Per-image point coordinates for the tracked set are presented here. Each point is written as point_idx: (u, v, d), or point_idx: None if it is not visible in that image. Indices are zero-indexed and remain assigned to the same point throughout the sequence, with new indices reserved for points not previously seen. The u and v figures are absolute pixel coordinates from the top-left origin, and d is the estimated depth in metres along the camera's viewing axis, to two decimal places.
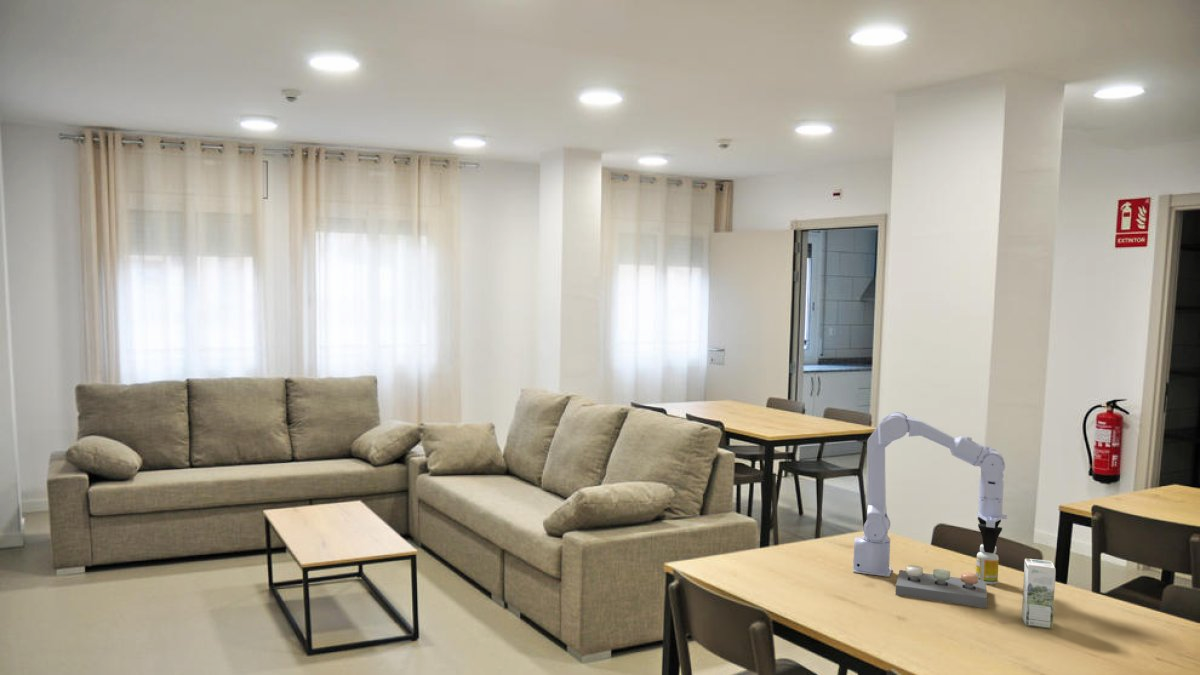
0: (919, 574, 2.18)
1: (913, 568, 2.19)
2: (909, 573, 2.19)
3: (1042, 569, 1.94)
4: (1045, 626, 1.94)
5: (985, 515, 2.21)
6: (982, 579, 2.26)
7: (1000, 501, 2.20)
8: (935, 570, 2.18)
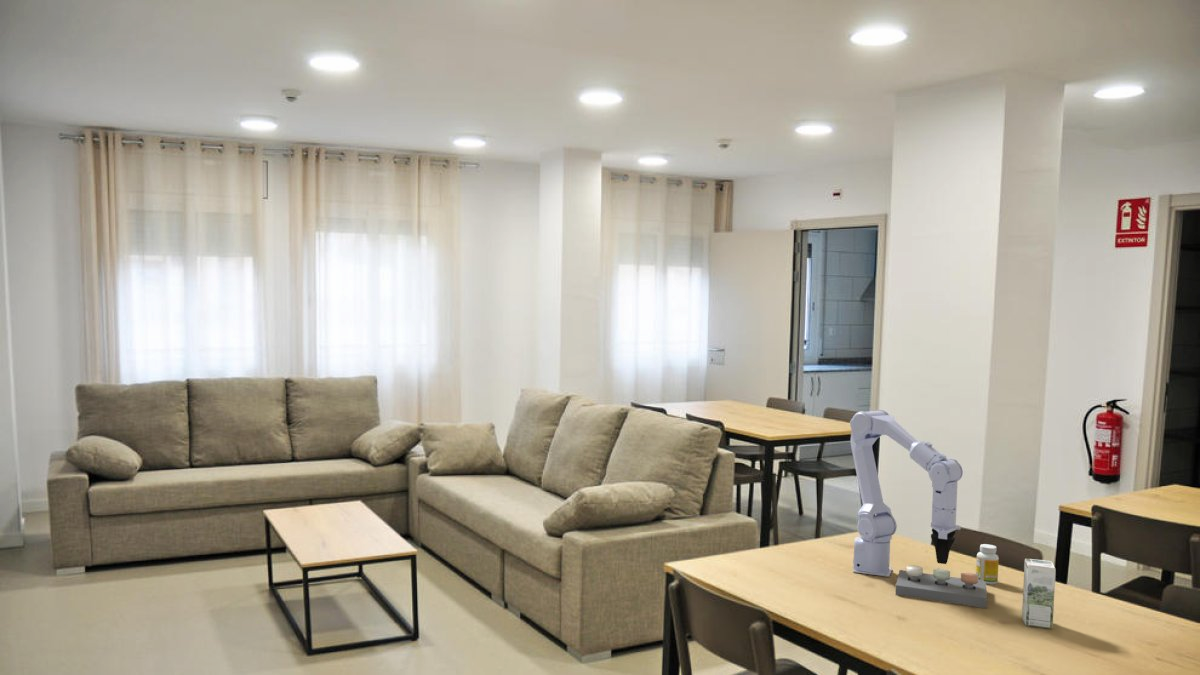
0: (919, 574, 2.18)
1: (913, 568, 2.19)
2: (909, 573, 2.19)
3: (1042, 569, 1.94)
4: (1045, 626, 1.94)
5: (938, 526, 2.15)
6: (982, 579, 2.26)
7: (953, 512, 2.14)
8: (935, 570, 2.18)
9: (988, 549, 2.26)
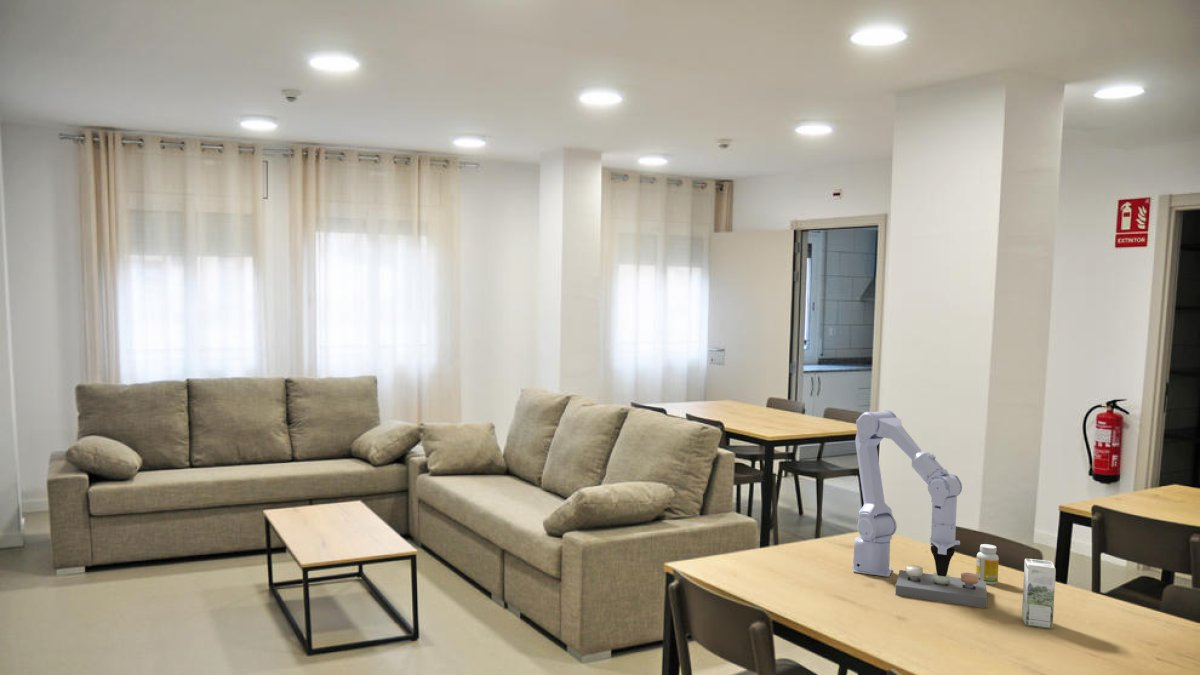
0: (919, 574, 2.18)
1: (913, 568, 2.19)
2: (909, 573, 2.19)
3: (1042, 569, 1.94)
4: (1045, 626, 1.94)
5: (937, 541, 2.15)
6: (982, 579, 2.26)
7: (953, 527, 2.14)
8: (935, 574, 2.18)
9: (988, 549, 2.26)
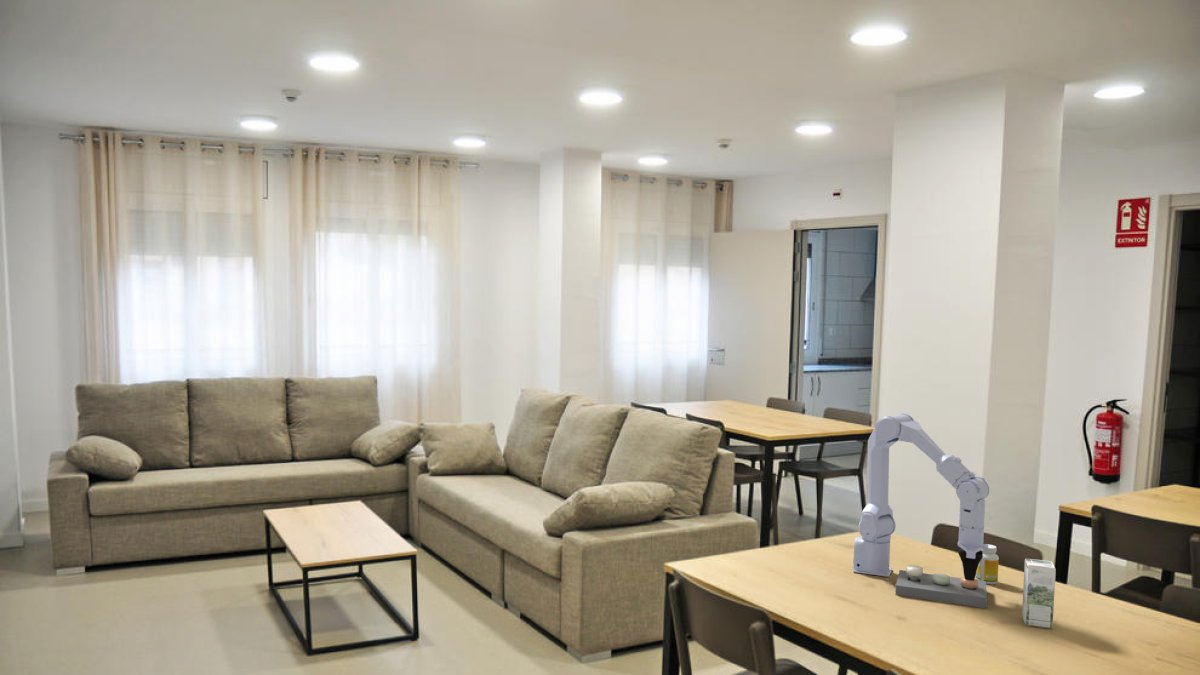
0: (919, 574, 2.18)
1: (913, 568, 2.19)
2: (909, 573, 2.19)
3: (1042, 569, 1.94)
4: (1045, 626, 1.94)
5: (965, 545, 2.12)
6: (982, 579, 2.26)
7: (981, 530, 2.12)
8: (935, 575, 2.18)
9: (988, 549, 2.26)
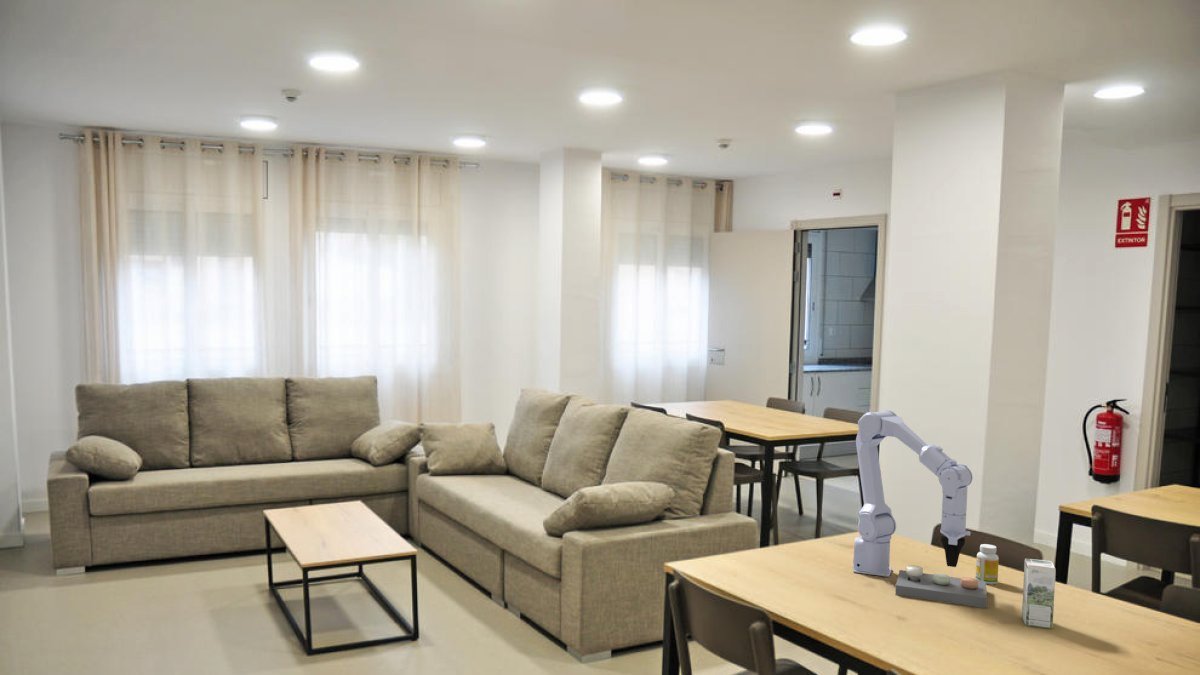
0: (919, 574, 2.18)
1: (913, 568, 2.19)
2: (909, 573, 2.19)
3: (1042, 569, 1.94)
4: (1045, 626, 1.94)
5: (948, 532, 2.14)
6: (982, 579, 2.26)
7: (963, 517, 2.14)
8: (935, 575, 2.18)
9: (988, 549, 2.26)
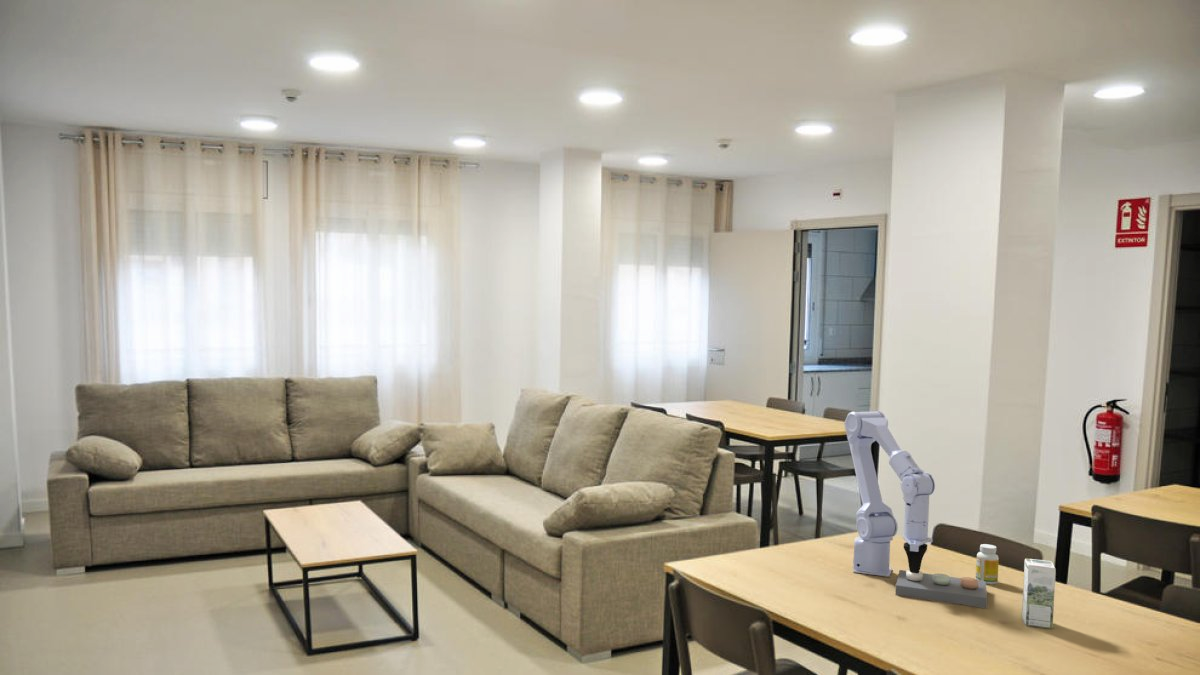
0: (919, 578, 2.18)
1: (913, 573, 2.19)
2: (909, 577, 2.19)
3: (1042, 569, 1.94)
4: (1045, 626, 1.94)
5: (910, 539, 2.17)
6: (982, 579, 2.26)
7: (925, 524, 2.17)
8: (935, 575, 2.18)
9: (988, 549, 2.26)
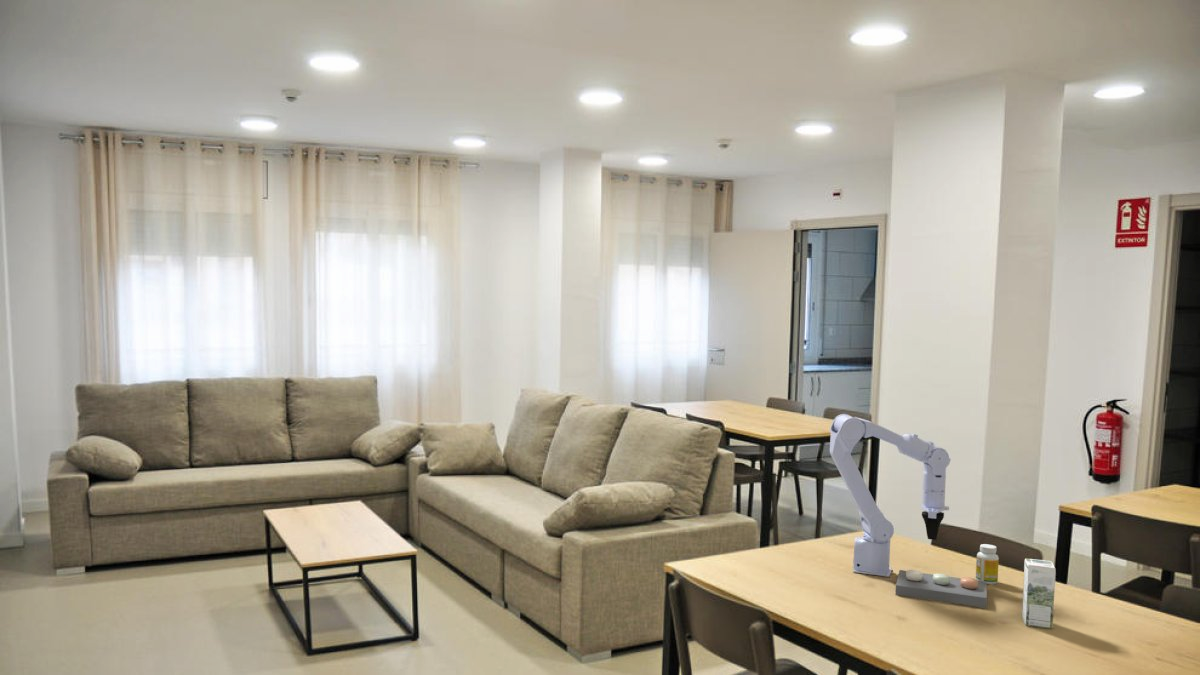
0: (919, 579, 2.18)
1: (913, 573, 2.19)
2: (909, 578, 2.19)
3: (1042, 569, 1.94)
4: (1045, 626, 1.94)
5: (928, 507, 2.32)
6: (982, 579, 2.26)
7: (942, 493, 2.31)
8: (935, 575, 2.18)
9: (988, 549, 2.26)
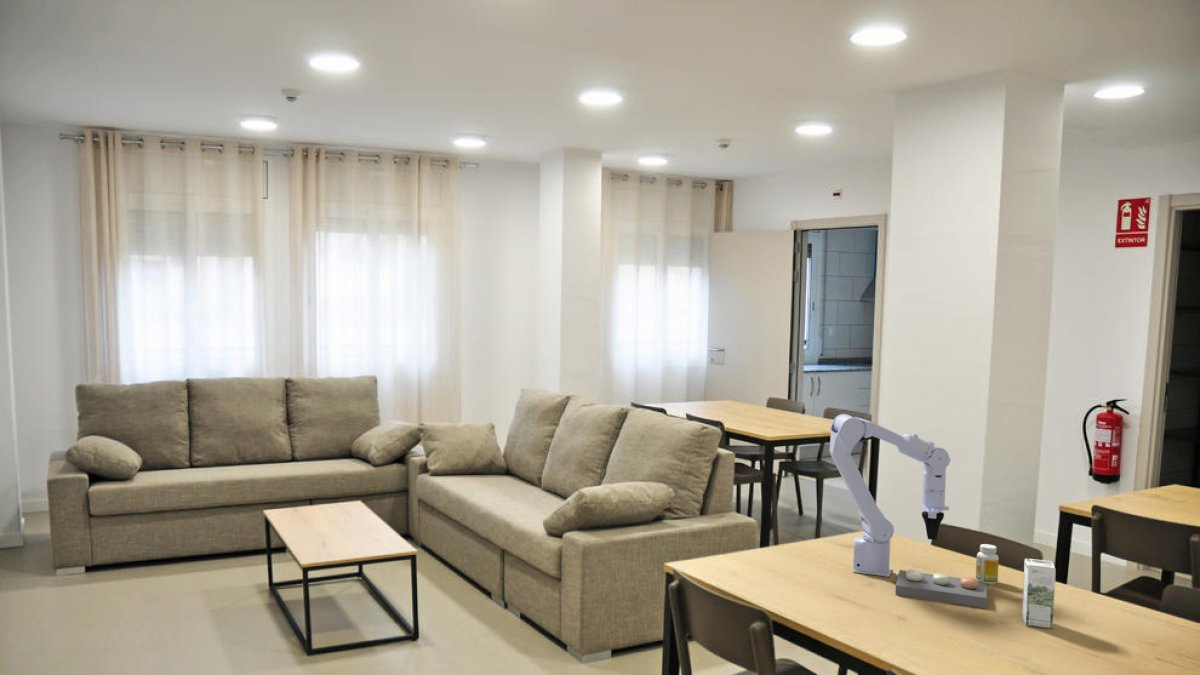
0: (919, 579, 2.18)
1: (913, 573, 2.19)
2: (909, 578, 2.19)
3: (1042, 569, 1.94)
4: (1045, 626, 1.94)
5: (928, 507, 2.32)
6: (982, 579, 2.26)
7: (942, 493, 2.31)
8: (935, 575, 2.18)
9: (988, 549, 2.26)
